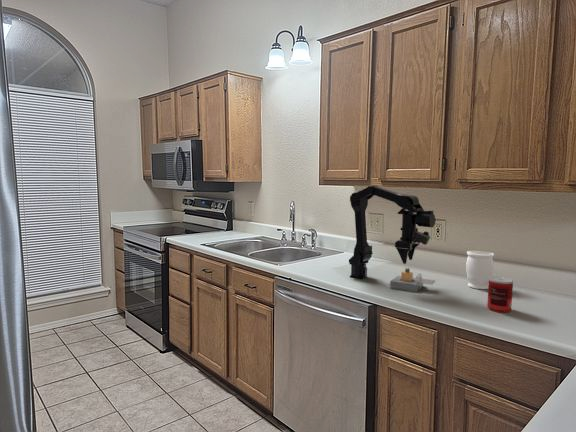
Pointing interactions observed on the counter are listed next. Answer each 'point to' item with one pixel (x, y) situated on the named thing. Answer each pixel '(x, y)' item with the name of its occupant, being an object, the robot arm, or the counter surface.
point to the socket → (405, 284)
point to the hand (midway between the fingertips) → (407, 261)
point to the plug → (407, 275)
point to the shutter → (423, 280)
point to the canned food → (500, 294)
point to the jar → (479, 268)
